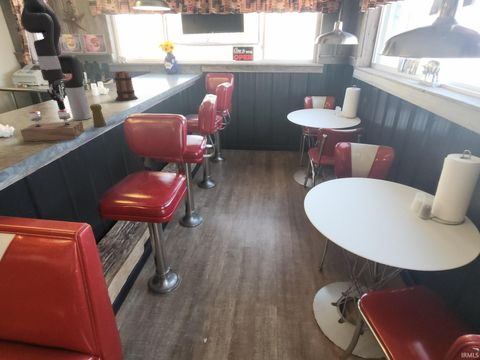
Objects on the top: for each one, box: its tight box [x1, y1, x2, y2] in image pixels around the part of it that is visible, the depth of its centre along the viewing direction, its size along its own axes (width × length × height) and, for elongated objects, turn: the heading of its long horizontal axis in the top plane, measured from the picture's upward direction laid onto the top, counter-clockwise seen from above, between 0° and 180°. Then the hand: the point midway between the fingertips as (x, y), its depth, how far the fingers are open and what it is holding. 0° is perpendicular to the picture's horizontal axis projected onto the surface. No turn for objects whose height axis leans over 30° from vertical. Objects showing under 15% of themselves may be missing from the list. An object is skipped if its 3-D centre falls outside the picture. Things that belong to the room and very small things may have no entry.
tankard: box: [114, 71, 139, 102], centre depth 217 cm, size 24×17×20 cm
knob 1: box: [27, 110, 43, 127], centre depth 126 cm, size 4×4×7 cm
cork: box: [89, 103, 107, 128], centre depth 144 cm, size 6×6×11 cm
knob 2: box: [57, 109, 71, 126], centre depth 127 cm, size 4×4×7 cm
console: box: [20, 120, 85, 143], centre depth 129 cm, size 12×21×5 cm, turn 99°
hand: (62, 109), depth 126 cm, fingers closed
